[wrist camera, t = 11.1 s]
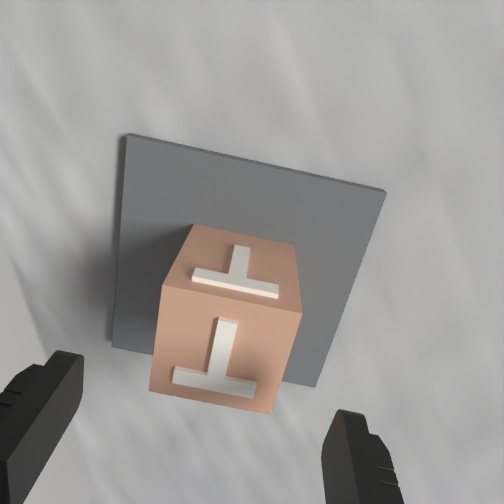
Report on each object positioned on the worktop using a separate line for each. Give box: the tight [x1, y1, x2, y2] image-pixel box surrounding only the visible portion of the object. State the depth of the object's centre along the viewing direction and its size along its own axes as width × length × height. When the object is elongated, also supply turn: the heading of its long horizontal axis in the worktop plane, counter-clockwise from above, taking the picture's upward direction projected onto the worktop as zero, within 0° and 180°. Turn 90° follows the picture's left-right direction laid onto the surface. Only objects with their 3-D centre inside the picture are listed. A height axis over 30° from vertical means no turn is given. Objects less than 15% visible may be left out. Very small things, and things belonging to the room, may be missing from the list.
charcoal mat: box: [112, 133, 387, 388], centre depth 20 cm, size 12×12×1 cm
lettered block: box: [149, 224, 303, 415], centre depth 17 cm, size 5×5×6 cm
